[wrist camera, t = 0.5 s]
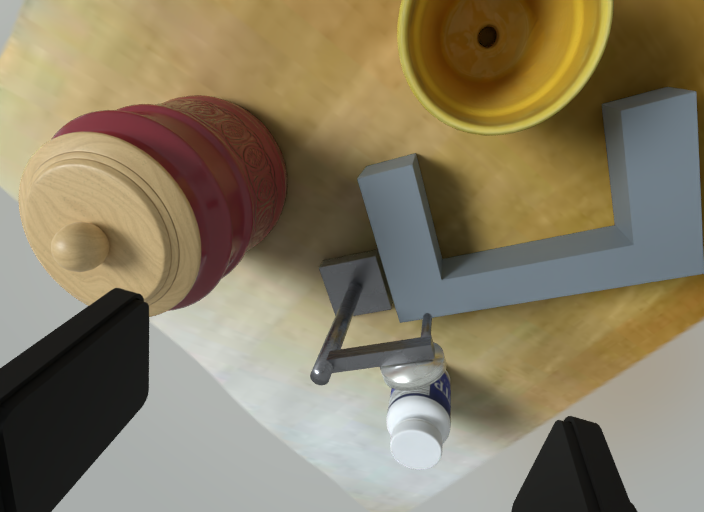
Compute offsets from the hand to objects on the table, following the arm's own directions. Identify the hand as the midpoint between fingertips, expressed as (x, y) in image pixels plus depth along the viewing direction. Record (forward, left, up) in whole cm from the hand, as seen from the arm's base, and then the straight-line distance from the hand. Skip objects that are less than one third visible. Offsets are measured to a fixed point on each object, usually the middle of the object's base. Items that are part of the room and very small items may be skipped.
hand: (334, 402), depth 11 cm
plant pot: (-6, -7, -28) cm, 30 cm away
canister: (+17, -3, -28) cm, 33 cm away
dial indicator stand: (+5, +9, -28) cm, 30 cm away
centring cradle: (-6, +6, -28) cm, 29 cm away
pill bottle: (+5, +20, -28) cm, 35 cm away
